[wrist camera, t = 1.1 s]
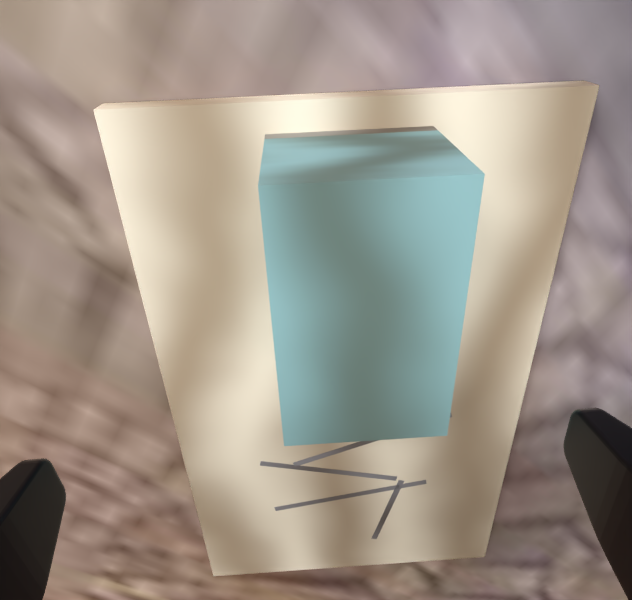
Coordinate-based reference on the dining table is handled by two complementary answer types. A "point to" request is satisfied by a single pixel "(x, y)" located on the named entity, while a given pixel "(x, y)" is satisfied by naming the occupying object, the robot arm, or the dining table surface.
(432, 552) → the board
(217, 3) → the dining table surface
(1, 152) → the dining table surface
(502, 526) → the dining table surface
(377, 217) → the block
